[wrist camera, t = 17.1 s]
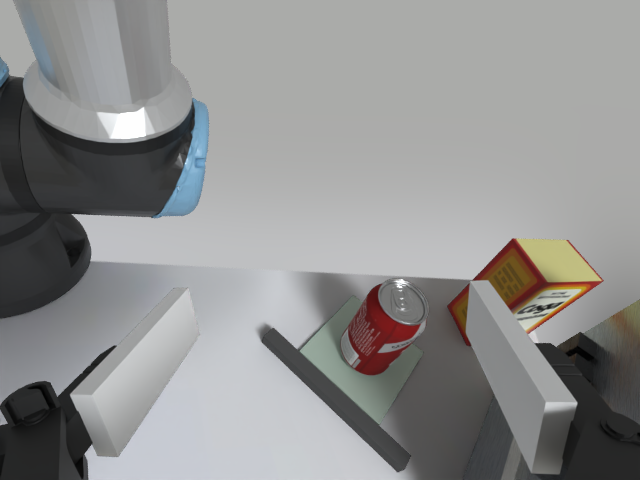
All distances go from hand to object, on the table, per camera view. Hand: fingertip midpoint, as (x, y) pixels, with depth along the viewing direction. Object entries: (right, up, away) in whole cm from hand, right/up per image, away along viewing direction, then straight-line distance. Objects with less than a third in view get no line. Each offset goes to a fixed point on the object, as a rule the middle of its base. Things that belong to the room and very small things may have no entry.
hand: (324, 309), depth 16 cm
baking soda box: (+24, -10, +37) cm, 45 cm away
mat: (+5, -11, +28) cm, 31 cm away
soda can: (+5, -11, +28) cm, 30 cm away
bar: (+1, -15, +23) cm, 27 cm away
